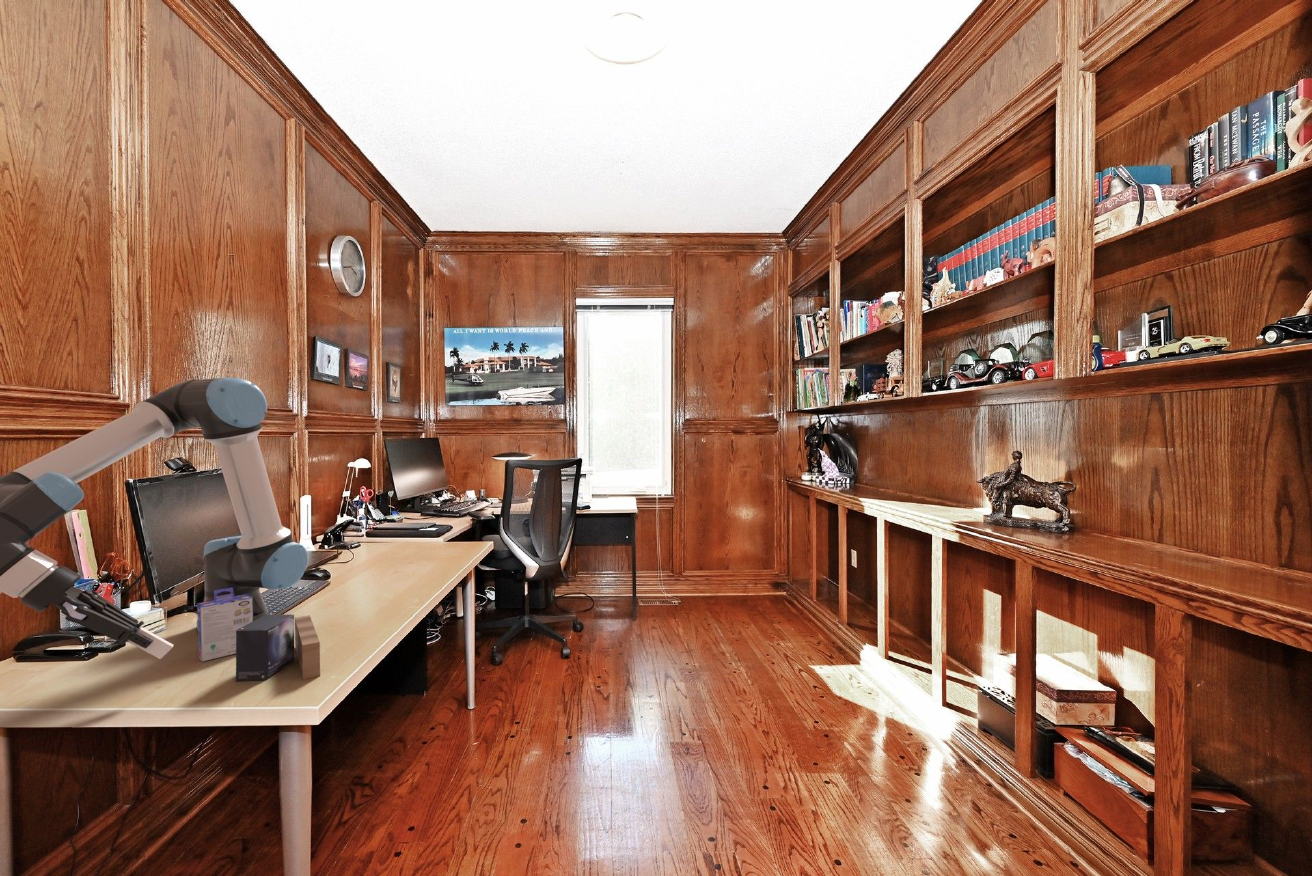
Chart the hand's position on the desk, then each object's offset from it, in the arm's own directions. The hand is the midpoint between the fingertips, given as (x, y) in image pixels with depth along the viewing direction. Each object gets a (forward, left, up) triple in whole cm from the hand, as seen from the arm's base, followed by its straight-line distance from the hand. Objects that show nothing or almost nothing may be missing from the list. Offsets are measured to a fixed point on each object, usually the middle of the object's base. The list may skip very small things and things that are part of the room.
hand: (166, 651), depth 111 cm
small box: (0, +16, -8) cm, 18 cm away
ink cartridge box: (-18, +9, -8) cm, 22 cm away
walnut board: (-1, +23, -8) cm, 25 cm away
